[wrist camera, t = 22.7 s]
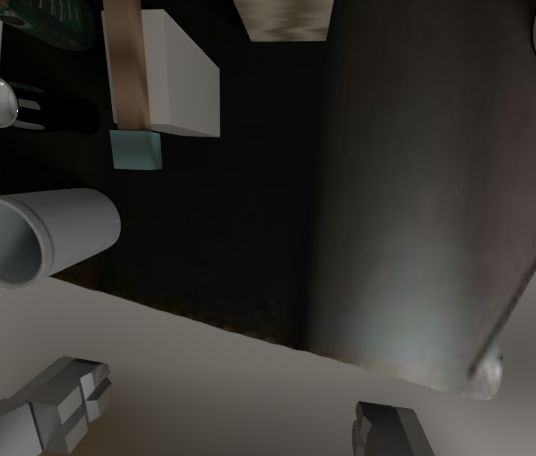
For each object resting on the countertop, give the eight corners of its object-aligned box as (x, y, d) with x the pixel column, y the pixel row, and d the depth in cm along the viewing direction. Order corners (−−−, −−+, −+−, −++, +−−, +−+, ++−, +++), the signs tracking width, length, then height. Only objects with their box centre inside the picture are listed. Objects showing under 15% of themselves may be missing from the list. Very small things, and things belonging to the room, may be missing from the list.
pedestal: (219, 68, 43) (163, 9, 26) (219, 137, 46) (170, 124, 29) (180, 68, 44) (101, 10, 27) (183, 135, 47) (114, 122, 30)
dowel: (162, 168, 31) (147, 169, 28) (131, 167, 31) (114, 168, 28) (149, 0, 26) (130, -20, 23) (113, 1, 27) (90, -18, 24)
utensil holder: (69, 171, 52) (-42, 177, 35) (133, 205, 52) (52, 227, 35) (54, 230, 56) (-51, 261, 40) (113, 262, 56) (34, 306, 40)
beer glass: (76, 90, 47) (-22, 61, 33) (108, 111, 48) (24, 91, 33) (65, 124, 49) (-32, 111, 35) (96, 144, 50) (12, 139, 35)
